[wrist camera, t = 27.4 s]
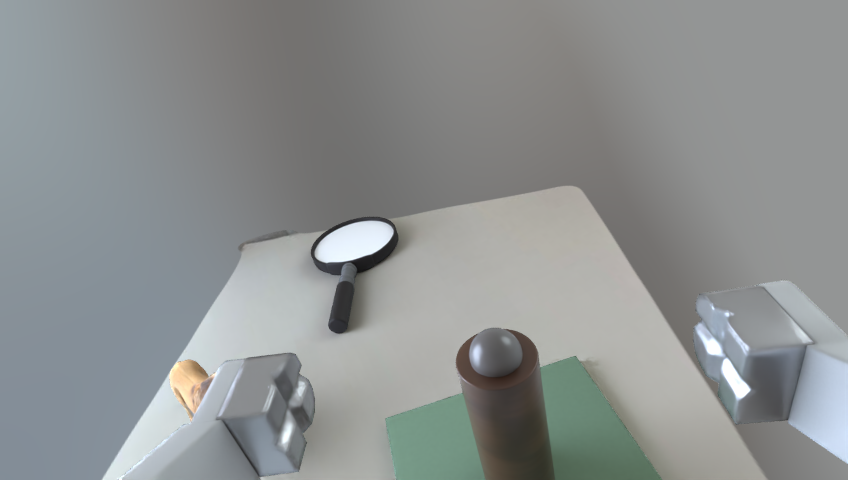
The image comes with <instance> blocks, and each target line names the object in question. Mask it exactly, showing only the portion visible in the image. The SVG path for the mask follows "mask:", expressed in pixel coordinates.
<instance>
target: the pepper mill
mask: <svg viewBox="0 0 848 480" xmlns="http://www.w3.org/2000/svg"><path fill="white" fill-rule="evenodd" d="M456 368H457V372H458V376H459V380H460V384H461V388H462V391H463V395H464V399H465V403H466V407H467V411H468V415H469V418H470V422H471V426H472V430H473V434H474V438H475V442H476V445H477V449H478V453H479V457H480V461H481V465H482V468H483V472H484V476H485V480H555V474H554V467H553V459H552V452H551V445H550V437H549V430H548V423H547V415H546V408H545V400H544V393H543V386H542V378H541V371H540V364H539V356H538V351H537V348H536V346H535V345H534V343H533V342H532V341H531V340H530V339H529V338H528V337H526V336H525V335H523V334H522V333H519V332H517V331H513V330H508V329H501V328H489V329H486V330H483V331H482V332H480V333H478V334H476V335H474V336H473V337H471V338H470V339H468V340H467V341H466V342H465V343H464V344H463V345H462V347H461V348H460V350H459V351H458V354H457V357H456Z"/></svg>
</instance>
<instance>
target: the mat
mask: <svg viewBox="0 0 848 480" xmlns="http://www.w3.org/2000/svg"><path fill="white" fill-rule="evenodd" d="M540 371H541V378H542V386H543V393H544V400H545V408H546V415H547V423H548V430H549V437H550V445H551V452H552V459H553V467H554V474H555V480H662V479H661V477H660V476H659V474H658V473H657V472H656V470H655V469H654V467H653V466H652V464H651V463H650V462H649V460H648V459H647V457H646V456H645V454H644V453H643V452H642V450H641V449H640V447H639V446H638V444H637V443H636V442H635V440H634V439H633V437H632V436H631V434H630V433H629V432H628V430H627V429H626V427H625V426H624V424H623V423H622V422H621V420H620V419H619V417H618V416H617V414H616V413H615V412H614V410H613V409H612V407H611V406H610V404H609V403H608V402H607V400H606V399H605V397H604V396H603V394H602V393H601V392H600V390H599V389H598V387H597V386H596V384H595V383H594V382H593V380H592V379H591V377H590V376H589V374H588V373H587V372H586V370H585V369H584V367H583V366H582V364H581V363H580V362H579V360H578V359H577V357H576V356H573V357H570V358H567V359H564V360H561V361H558V362H555V363H552V364H549V365H546V366H543V367H540ZM385 420H386V425H387V431H388V437H389V442H390V448H391V453H392V459H393V465H394V470H395V476H396V480H485V476H484V472H483V468H482V465H481V461H480V457H479V453H478V449H477V445H476V442H475V438H474V434H473V430H472V426H471V422H470V418H469V415H468V411H467V407H466V403H465V399H464V395H463V393H461V394H458V395H455V396H452V397H449V398H446V399H443V400H440V401H437V402H434V403H431V404H428V405H425V406H422V407H419V408H416V409H413V410H410V411H407V412H404V413H400V414H397V415H394V416H391V417H388V418H386V419H385Z"/></svg>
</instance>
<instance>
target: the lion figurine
mask: <svg viewBox="0 0 848 480" xmlns="http://www.w3.org/2000/svg"><path fill="white" fill-rule="evenodd" d="M215 375H216V373H214V374H212V375H210V377H209V376H208V374H207V373H206V371H205V370H204V369H203V368H202V367H201V366H200V365H199V364H198V363H197V362H195V361H193V360H185V361H182V362H181V361H180V362H177V363H176V364H175V366H174V367H173V368H172V370H171V372H170V385H171V388H172V390H173V392H174V394H175V396H176V398H177V399H178V400H179V402H180V403H181V404H182V405H183V406H184V408H185V409H186V411H187V413H188V415H189V418H190V421H192V419H193V417H194V415H195V413H196V411H197V409H198V407H199V405H200V403H201V401H202V400H203V398H204V396H205V394H206V392H207V390H208V388H209V386H210V384H211V382H212V380H213V378H214V377H215Z"/></svg>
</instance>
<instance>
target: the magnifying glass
mask: <svg viewBox="0 0 848 480" xmlns="http://www.w3.org/2000/svg"><path fill="white" fill-rule="evenodd" d="M397 243H398V234H397V231H396V228H395V225H394V224H393V223H392V222H391V221H389V220H387V219H385V218H380V217H364V218H357V219H353V220H349V221H346V222H343V223H341V224H339V225H336V226H334V227H333V228H331V229H329V230H328V231H326V232H325V233H323V234H322V235H321V236H320V237H319V238H318V239H317V240H316V241H315V242H314V244H313V246H312V249H311V255H312V258H313V260H314V263H315V265H316V266H317V267H318V268H319V269H320V270H322V271H324V272H327V273H330V274H332V275H342V276H341V278H340V279H339V284H338V285H337V289H336V293H335V297H334V302H333V306H332V310H331V315H330V319H329V323H328V326H329V329H330V330H331V331H333V332H335V333H342V332H344V331H345V330H346V329H347V327H348V321H349V316H350V310H351V305H352V299H353V294H354V283H355V280H354V278H355V276H356V273H357V272H361V271H364V270H367V269H369V268H371V267H373V266H374V265H375V264H377V263H378V262H380V261H382V260H383V259H384V258H386V257H387V256H388V255H389V254H390V253H391V252H392V251H393V250H394V249H395V247H396V245H397Z"/></svg>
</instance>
